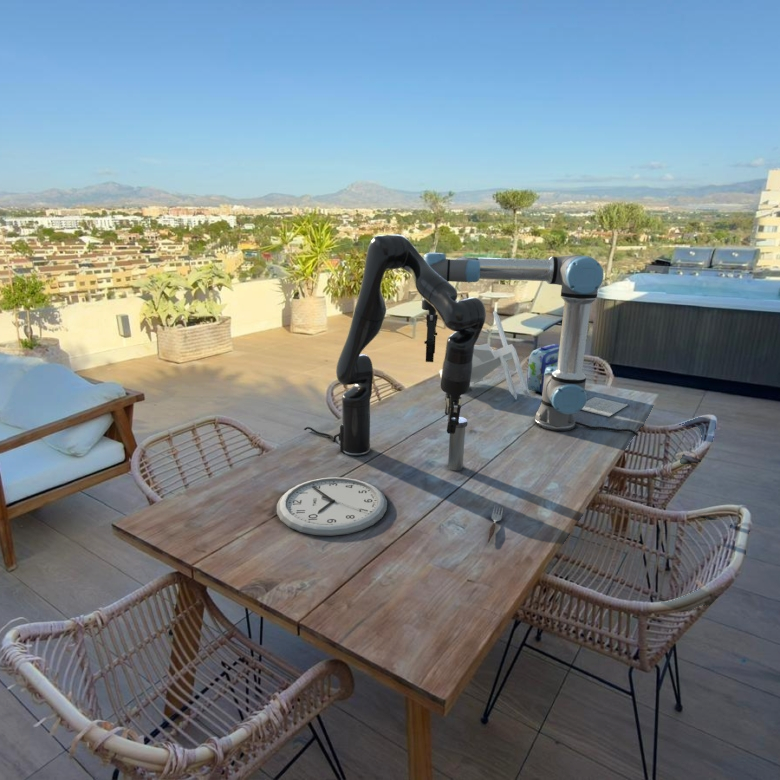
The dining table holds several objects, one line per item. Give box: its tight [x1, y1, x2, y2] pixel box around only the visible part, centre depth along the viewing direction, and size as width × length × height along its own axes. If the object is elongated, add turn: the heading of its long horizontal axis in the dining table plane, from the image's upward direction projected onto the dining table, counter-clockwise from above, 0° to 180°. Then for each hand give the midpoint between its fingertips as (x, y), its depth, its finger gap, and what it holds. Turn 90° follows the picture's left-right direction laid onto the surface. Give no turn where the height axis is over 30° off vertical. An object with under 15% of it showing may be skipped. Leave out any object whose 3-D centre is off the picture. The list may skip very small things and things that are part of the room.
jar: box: [447, 427, 466, 472], centre depth 164 cm, size 5×5×16 cm
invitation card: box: [580, 396, 629, 418], centre depth 226 cm, size 21×1×15 cm
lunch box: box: [526, 343, 560, 394], centre depth 247 cm, size 26×11×21 cm, turn 134°
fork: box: [487, 505, 504, 543], centre depth 133 cm, size 3×16×2 cm, turn 160°
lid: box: [456, 416, 468, 428], centre depth 162 cm, size 6×6×2 cm
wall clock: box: [276, 476, 388, 537], centre depth 142 cm, size 30×2×30 cm
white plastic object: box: [438, 310, 531, 400], centre depth 245 cm, size 37×45×31 cm
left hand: (449, 423), depth 144 cm, fingers open, 8 cm apart
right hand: (430, 357), depth 190 cm, fingers open, 13 cm apart
